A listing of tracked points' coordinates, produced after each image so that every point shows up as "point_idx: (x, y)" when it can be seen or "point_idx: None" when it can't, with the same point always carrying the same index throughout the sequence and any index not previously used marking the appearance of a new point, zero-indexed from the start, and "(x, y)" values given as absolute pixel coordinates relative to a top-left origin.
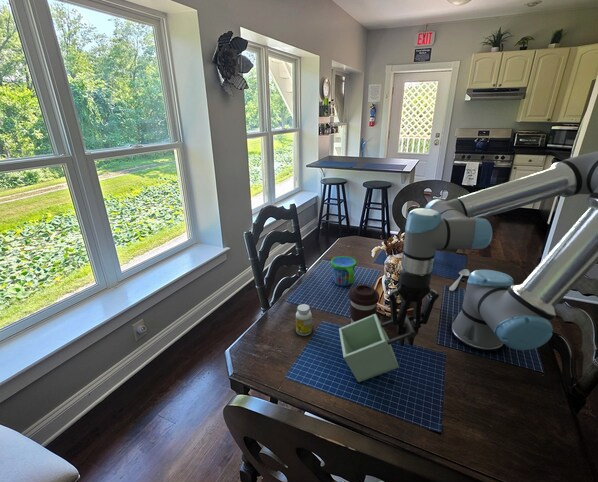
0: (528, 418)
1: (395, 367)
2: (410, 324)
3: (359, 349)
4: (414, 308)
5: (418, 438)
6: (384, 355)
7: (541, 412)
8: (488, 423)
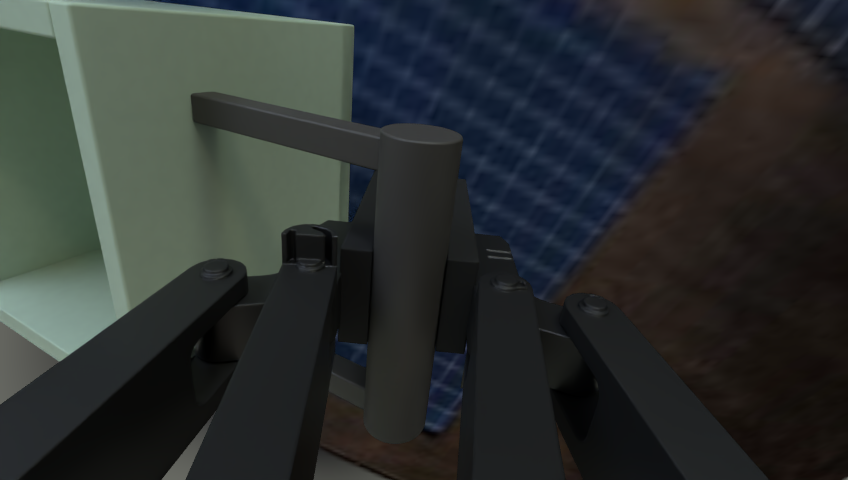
0: (764, 428)
1: None
2: (411, 348)
3: (24, 328)
4: (466, 466)
5: (360, 440)
6: None
7: (834, 417)
8: None
